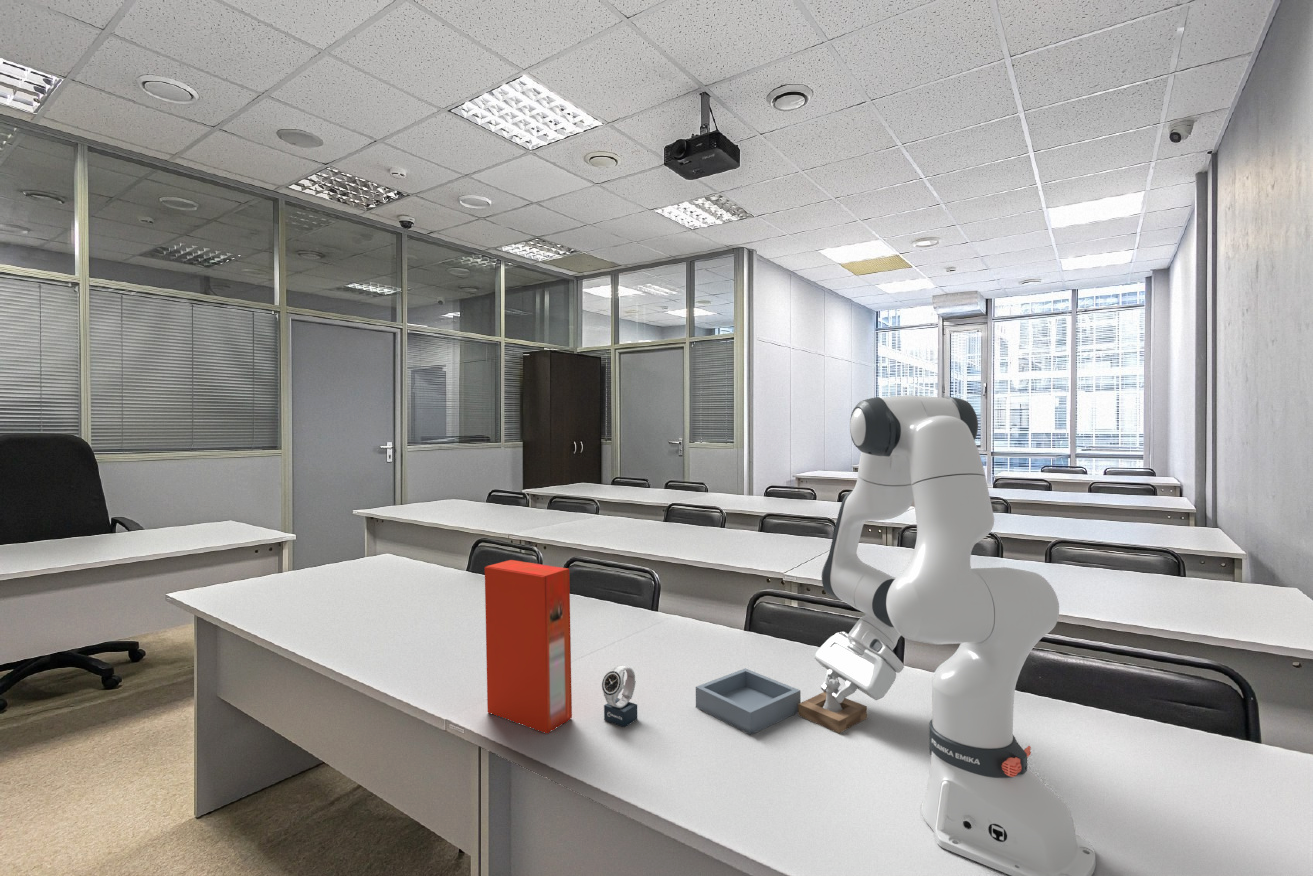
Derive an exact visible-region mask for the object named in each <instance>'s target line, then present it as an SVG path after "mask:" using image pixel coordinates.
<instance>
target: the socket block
mask: <svg viewBox="0 0 1313 876" xmlns="http://www.w3.org/2000/svg"><path fill="white" fill-rule="evenodd" d="M826 696H827V694H826V693H825V692H824V691H823V692H821V693H819V694H817V695H813V696H812V697H810V698H808V699H806V700H803V701H802V702H801V703H799V712H798V716H799V717H800V718H804V719H805V720H807V721H809V722H812V723H814V724H817V725H818V726H821V727H823V728H826V729H828V730H831V731H833V732H835V733H838V734H842V733H843V732H845V731H846V730H848V729H850V728H852V727H854V726H855V725H857V724H859V723H861V722H862V721H864V720H867V719H868V706H866V705H865V704H862V703H859V702H856V701H854V700H852V699H849V698H847V697H845V698H844V700H843V701H842V702H841V703H840V705H841V708H842V709H843V710H841V711H839V712H837V713H834V712H832V711H829V710H827V709H825V708H823V706H824V704H825V702H826Z"/></svg>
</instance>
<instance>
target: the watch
mask: <svg viewBox="0 0 1313 876" xmlns="http://www.w3.org/2000/svg"><path fill="white" fill-rule="evenodd" d="M625 672H626V674H625ZM625 675H626V679H625V681H624V678H625ZM636 681H637V680H636V674H635V671H634V670H633V668H631V667H628V666H624V665H621V664H620V665H617V666H615V667H613V668H611V669H610V671H608V672H607V673H606V674H605V675H604V676H603V678H602V682H601V689H602V692H603V693H602V694H603V697H604V699H605V701H606V704H604V705H603V718H604V719H603V720H604V721H606V722H609V723H611V724H614V725H617V726H619V727H623V728H626V727H628V726H629V725H630V723H631V724H632V723H634V722H635V721H637V720H638V703H637V704H636V703H635V702H630V700H632V699H633V695H634V692H635V687H636ZM622 690H623V691H622ZM621 692H622V694H621V695H622V696H621V698H618V697H619V695H620V693H621ZM633 721H634V722H633Z"/></svg>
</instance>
